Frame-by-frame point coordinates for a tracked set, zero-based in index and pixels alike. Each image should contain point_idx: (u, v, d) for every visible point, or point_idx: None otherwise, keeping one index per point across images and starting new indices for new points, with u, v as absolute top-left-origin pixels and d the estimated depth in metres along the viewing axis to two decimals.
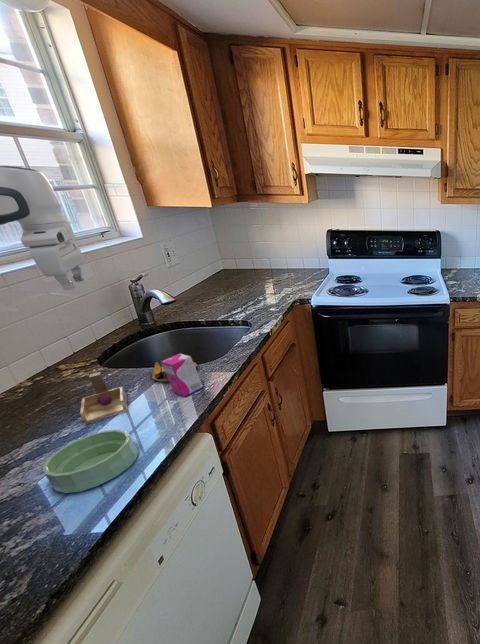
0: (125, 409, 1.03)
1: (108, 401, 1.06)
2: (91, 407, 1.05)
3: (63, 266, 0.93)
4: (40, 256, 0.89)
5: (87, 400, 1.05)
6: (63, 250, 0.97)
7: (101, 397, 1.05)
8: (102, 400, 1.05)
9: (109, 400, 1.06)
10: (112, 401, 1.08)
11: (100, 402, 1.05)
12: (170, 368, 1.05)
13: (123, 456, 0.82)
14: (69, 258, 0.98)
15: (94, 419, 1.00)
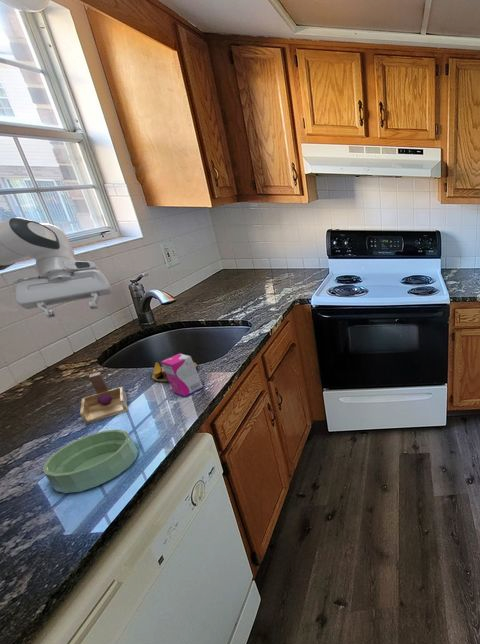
0: (125, 409, 1.03)
1: (108, 401, 1.06)
2: (91, 407, 1.05)
3: None
4: (104, 276, 1.14)
5: (87, 400, 1.05)
6: None
7: (101, 397, 1.05)
8: (102, 400, 1.05)
9: (109, 400, 1.06)
10: (112, 401, 1.08)
11: (100, 402, 1.05)
12: (170, 368, 1.05)
13: (123, 456, 0.82)
14: None
15: (94, 419, 1.00)
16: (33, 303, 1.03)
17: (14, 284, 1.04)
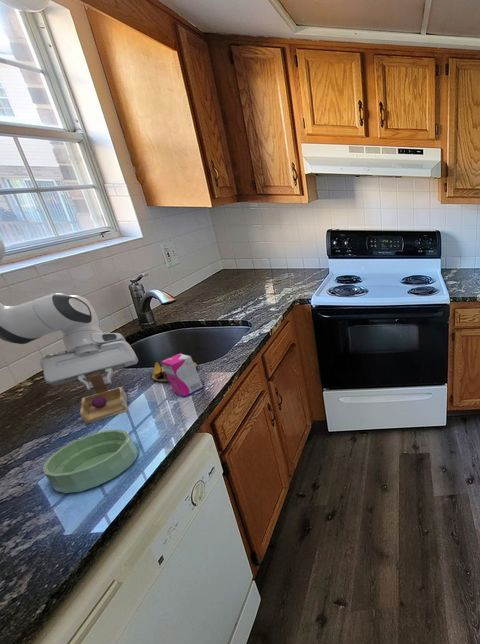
0: (125, 409, 1.03)
1: (104, 402, 1.05)
2: (91, 407, 1.05)
3: None
4: (130, 346, 1.13)
5: (87, 400, 1.05)
6: None
7: (95, 404, 1.03)
8: (98, 405, 1.04)
9: (104, 401, 1.05)
10: (112, 401, 1.08)
11: (99, 407, 1.04)
12: (170, 368, 1.05)
13: (123, 456, 0.82)
14: None
15: (94, 419, 1.00)
16: (61, 380, 1.03)
17: (42, 361, 1.03)
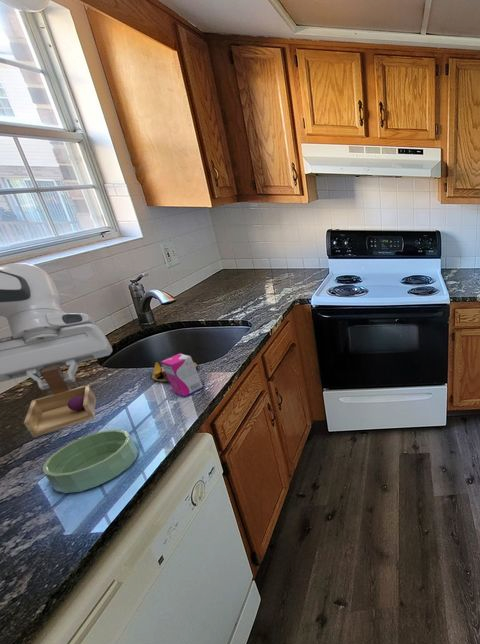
0: (90, 416, 0.76)
1: None
2: (45, 413, 0.77)
3: None
4: (102, 332, 0.85)
5: (39, 403, 0.77)
6: None
7: (78, 408, 0.77)
8: (73, 409, 0.76)
9: None
10: None
11: (70, 405, 0.76)
12: (170, 368, 1.05)
13: (123, 456, 0.82)
14: None
15: (45, 430, 0.72)
16: (3, 376, 0.75)
17: None
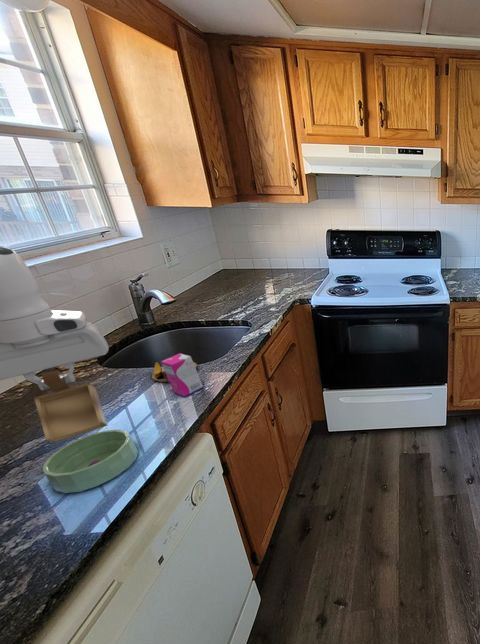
0: (104, 425, 0.83)
1: None
2: (48, 405, 0.80)
3: None
4: (97, 332, 0.80)
5: (42, 399, 0.79)
6: None
7: None
8: None
9: None
10: (77, 398, 0.83)
11: None
12: (170, 368, 1.05)
13: (123, 456, 0.82)
14: None
15: (64, 438, 0.79)
16: None
17: None
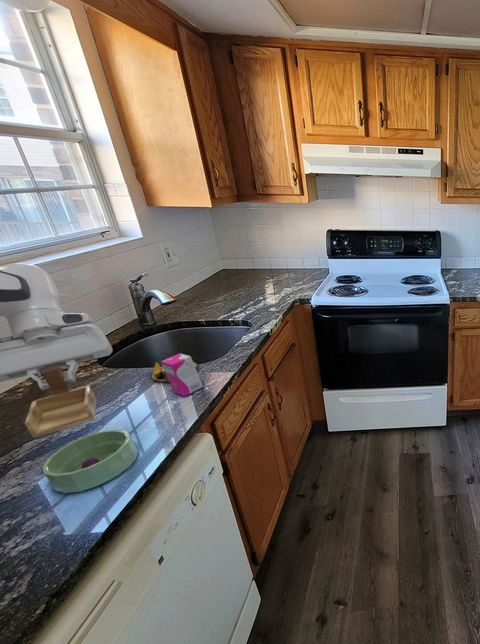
0: (91, 417, 0.76)
1: None
2: (45, 413, 0.77)
3: None
4: (102, 332, 0.85)
5: (40, 404, 0.77)
6: None
7: None
8: (98, 461, 0.82)
9: None
10: (75, 405, 0.80)
11: (94, 463, 0.81)
12: (170, 368, 1.05)
13: (123, 456, 0.82)
14: None
15: (46, 431, 0.72)
16: (3, 376, 0.75)
17: None
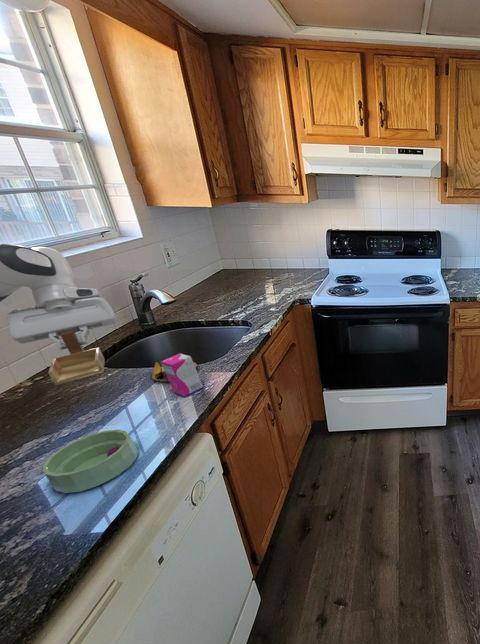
0: (101, 370, 0.93)
1: (109, 454, 0.84)
2: (63, 368, 0.95)
3: None
4: None
5: (59, 361, 0.94)
6: None
7: None
8: None
9: (109, 453, 0.84)
10: (87, 363, 0.97)
11: None
12: (170, 368, 1.05)
13: (123, 456, 0.82)
14: None
15: (65, 380, 0.89)
16: (29, 337, 0.93)
17: (8, 316, 0.93)
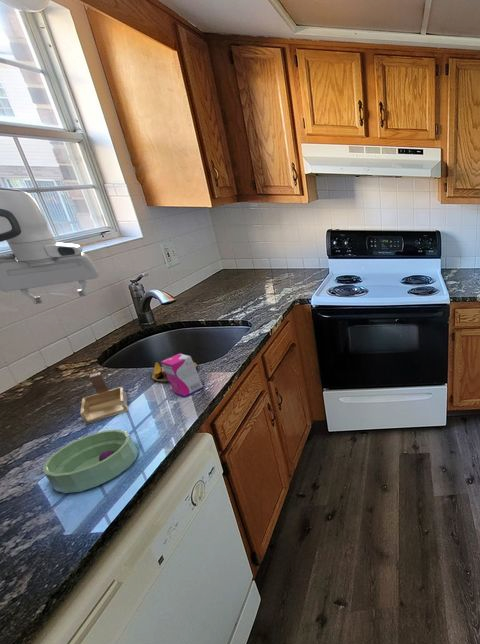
0: (125, 409, 1.03)
1: None
2: (91, 407, 1.05)
3: None
4: (90, 260, 1.06)
5: (87, 400, 1.05)
6: None
7: None
8: None
9: None
10: (112, 401, 1.08)
11: None
12: (170, 368, 1.05)
13: (123, 456, 0.82)
14: None
15: (94, 419, 1.00)
16: (17, 289, 0.99)
17: None
